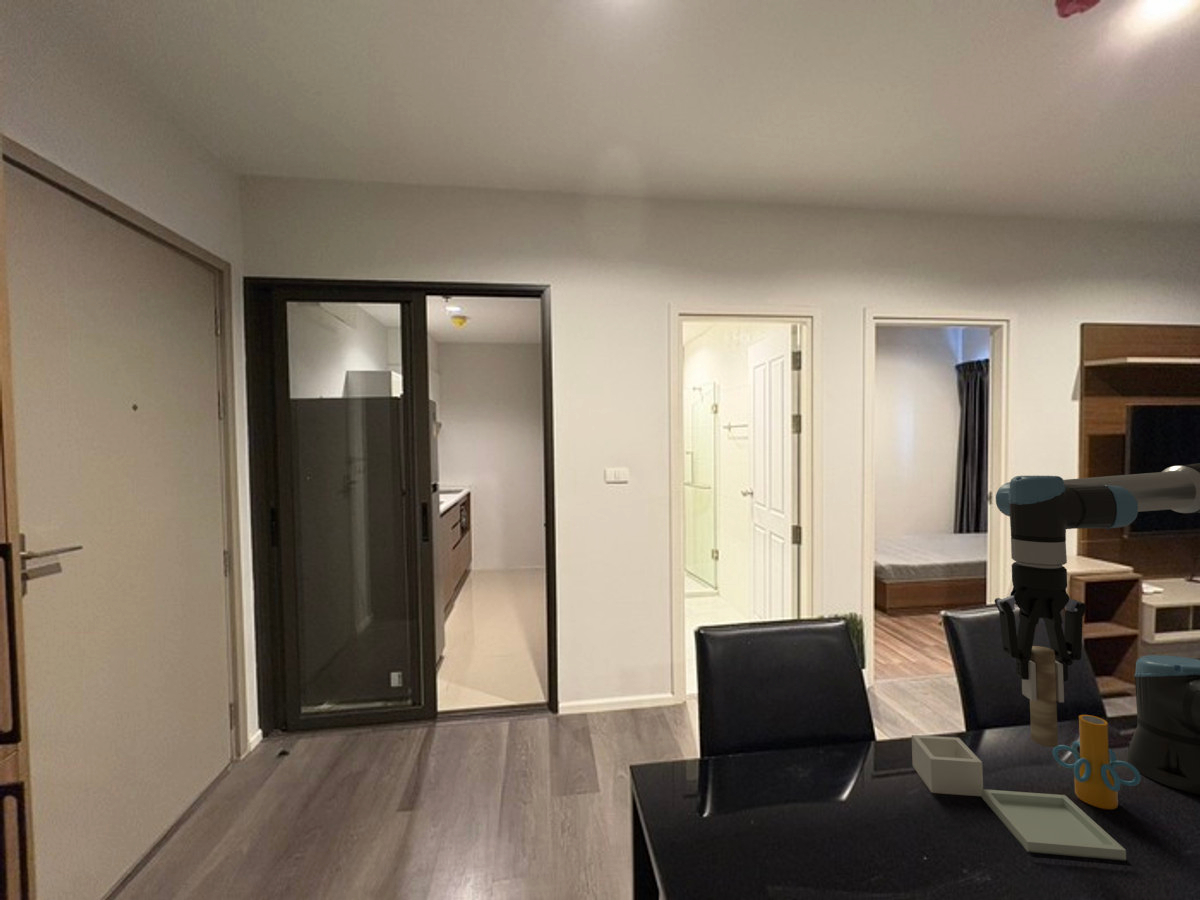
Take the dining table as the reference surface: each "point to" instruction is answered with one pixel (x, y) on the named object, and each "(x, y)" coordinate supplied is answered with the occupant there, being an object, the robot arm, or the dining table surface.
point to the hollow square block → (947, 765)
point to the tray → (1052, 825)
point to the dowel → (1044, 698)
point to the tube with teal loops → (1095, 765)
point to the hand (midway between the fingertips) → (1042, 697)
